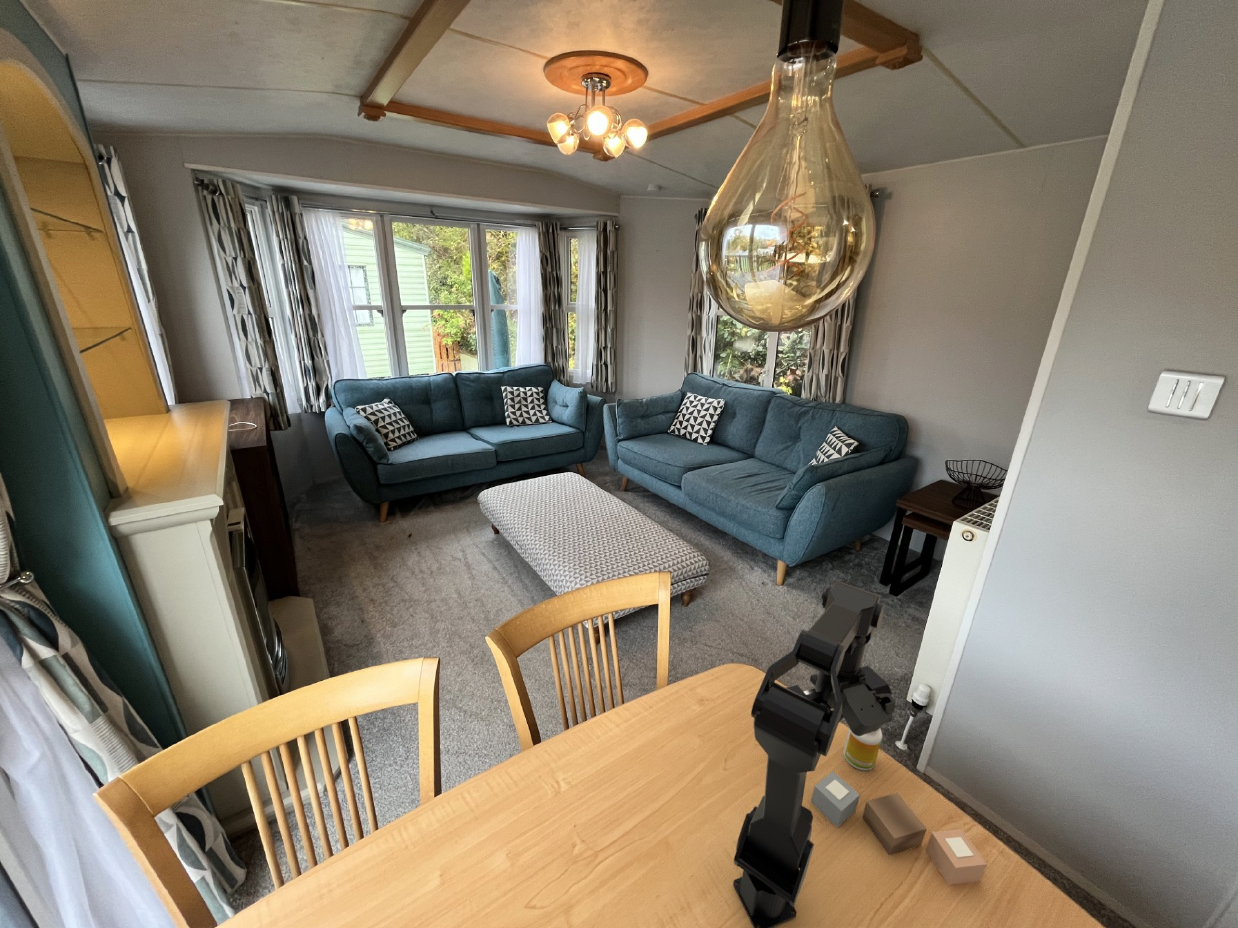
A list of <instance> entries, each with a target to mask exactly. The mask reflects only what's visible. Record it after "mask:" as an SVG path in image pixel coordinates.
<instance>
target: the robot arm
mask: <svg viewBox="0 0 1238 928" xmlns="http://www.w3.org/2000/svg"><path fill="white" fill-rule="evenodd" d="M820 600H821V601H822V602H821V605H822V609H824V611H823V613H822V614H821V615H820V616H819V618H818V619H817V620H816V621H815V622H814V624H813V625H811V627H810V628H809V629H808V630H805V629H802V630H801V631H800V632H799V634H798V637H797V639H796V642H795V643H794V646H793V649H792V650H791V651H790V652H788V653H787V654H785V655H783V656H782V657H781V658H780V659H778V660H777V661H775V662H774V663H772V664H771V665H769V667H768V668H767V671H766V673H765V674H764V677H763V680H762V682H761V685H760V686H759V689H758V691H757V694H756V695H755V698H754V701H753V704H752V707H751V711H750V712H751V715H750V716H751V718H753V735H754V738H755V741H756V742H757V743H758V745H760V747H761V748H762V750H763V751H764V752H765V753H766V755H767V758H766V759H767V761H766V774H765V775H766V776H765V786H764V795H763V796H762V797H761V800H760V802H759V804H758V806H757V805H754V806H753V808H752V810H751V811H750V812H748V813H746V815H745V817H744V820H743V823H742V826H741V828H740V832H739V834H738V838H737V842H736V847H735V850H736V852H735V854H734V857H733V863H734V865H735V866H737V867H738V868H740V869H741V870H742V876H740V877H738V878H735V879H734V880H733V882H732V883H733V884H732V885H733V888H734V890H735V892H736V894H737V896H738V898H739V900H740V902H741V904H742V906H743V908H744V910H745V912H746V915H747V916H748V918H749V920H750V922H751V925H752V926H753V928H758V927H759V928H775V927H777V926H779V925H781V924H784V923H785V922H788V921H791V920H793V919H795V918H796V917H797V910H796V908H795V906H796V902H797V899H798V897H799V895H800V892H801V889H802V887H803V884H804V881H805V878H806V875H807V872H808V869H809V868H808V867H809V865H810V861H811V858H812V854H813V850H814V846H815V843H814V842H813V841H811V837H812V831H813V829H812V828H813V826H812V824H813V820H814V814H813V812H812V810H810V809H809V808H807V807H805V806H804V805H803V800H804V795H805V794H804V793H805V787H806V781H807V780H806V779H807V776H808V775H807V773H809V772H814V771H815V770H816V768H817V765H818V764H819V761H820V758H821V755H822V756H824V757H825V758H826V757H827V756H828V755H829V754H828V753H829V751H830V748H831V746H832V743H833V740H834V737H835V734H836V731H837V729H838V726H839V723H840V722H841V721H842V720H843V719H844V720H845V722H846V723H847V725H848V729H849V728H850V730H851V731H852V733H853V734H855V735H857V736H862V735H864V734H867V733H870V732H875V731H877V730H878V729H879V728H880V729H881V727H882V726H884V724H888V723H891V722H892V721H893V718H892V717H893V714H894V713H895V708H896V701H895V699H894V697H892V695H893V694H892V693H893V691H892V689H891V686H890V684H889V683H888V682H887V681H886V680H885V679H884V678H882V677H881V675H879V674H878V673H877V672H875V670H873V669H872V668H871V667H870V666H869V665H862V663H863V658H864V654H865V652H866V651H865V650H866V645H867V644H868V643H869V642H870V640H871V638H872V636H873V633H874V631H875V630H880V628H881V625H882V623H883V619H884V608H885V605H884V604H883V603H882V604H881V603H880V601H881V596H880V595H879V594H876V593H873V592H870V591H868V590H865V589H862V588H860V587H856V586H853V585H850V584H848V583H845V582H841V581H839V580H838V581H836V582H834V583H833V585H832V586H831V585H830V586H828V587H827V588H826V589H825V591H823V592H822V594H821V599H820ZM799 663H801V664H803V665H805V666H807V667H809V668H811V669H814V670H816V671H817V672H816V674H811V675H810V677H809V681H810V682H811V684H813V686H814V688H812V689H808V690H804V691H803V690H802V688H801V687H800V686H799V685H798V684H792V685H789V686H786V687H785V686H783V685H781V684H779V683H777V682H776V681H777V680H778V679H779V678H781V677H782V676H783V675H785V674H786V673H789V672H790V671H791V670H792V669H793V668H794V669H795V667H797V666H798V665H799Z"/></svg>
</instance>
